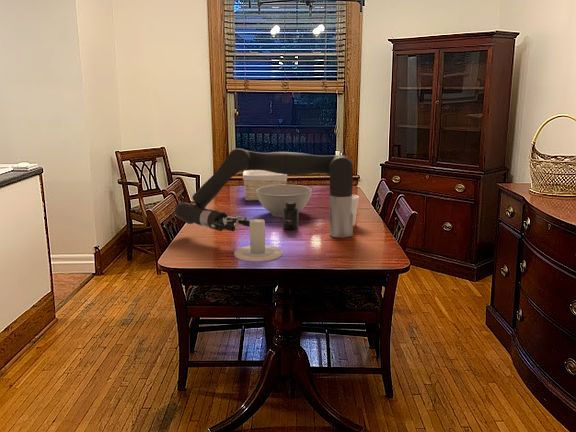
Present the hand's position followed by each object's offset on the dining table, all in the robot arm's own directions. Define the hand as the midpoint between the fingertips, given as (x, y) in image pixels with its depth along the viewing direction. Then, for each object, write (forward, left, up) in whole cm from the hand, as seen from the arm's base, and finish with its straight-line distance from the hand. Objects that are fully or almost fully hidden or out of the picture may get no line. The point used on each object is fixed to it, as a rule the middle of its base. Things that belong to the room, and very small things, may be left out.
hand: (242, 226), depth 211 cm
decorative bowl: (-20, -56, -10) cm, 60 cm away
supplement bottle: (-21, -29, -10) cm, 37 cm away
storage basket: (-12, -93, -10) cm, 95 cm away
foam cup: (-47, -33, -10) cm, 58 cm away
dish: (-6, +5, -10) cm, 12 cm away
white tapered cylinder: (-6, +5, -9) cm, 12 cm away
